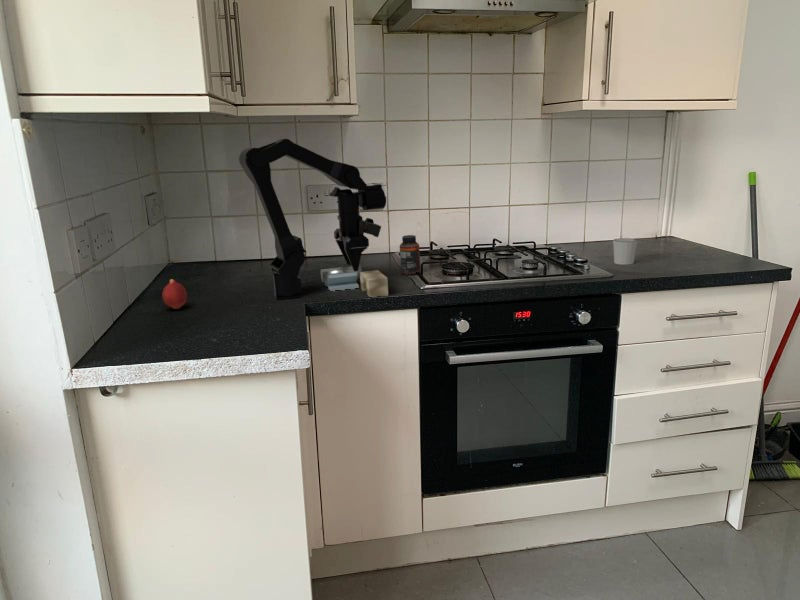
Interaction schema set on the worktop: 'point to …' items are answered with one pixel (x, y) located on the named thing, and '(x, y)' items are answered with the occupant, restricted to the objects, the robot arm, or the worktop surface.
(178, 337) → the worktop surface
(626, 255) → the grey cup
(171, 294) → the onion
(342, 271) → the axle
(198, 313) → the worktop surface
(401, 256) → the supplement bottle
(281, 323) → the worktop surface
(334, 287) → the v block
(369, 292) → the beam
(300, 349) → the worktop surface
